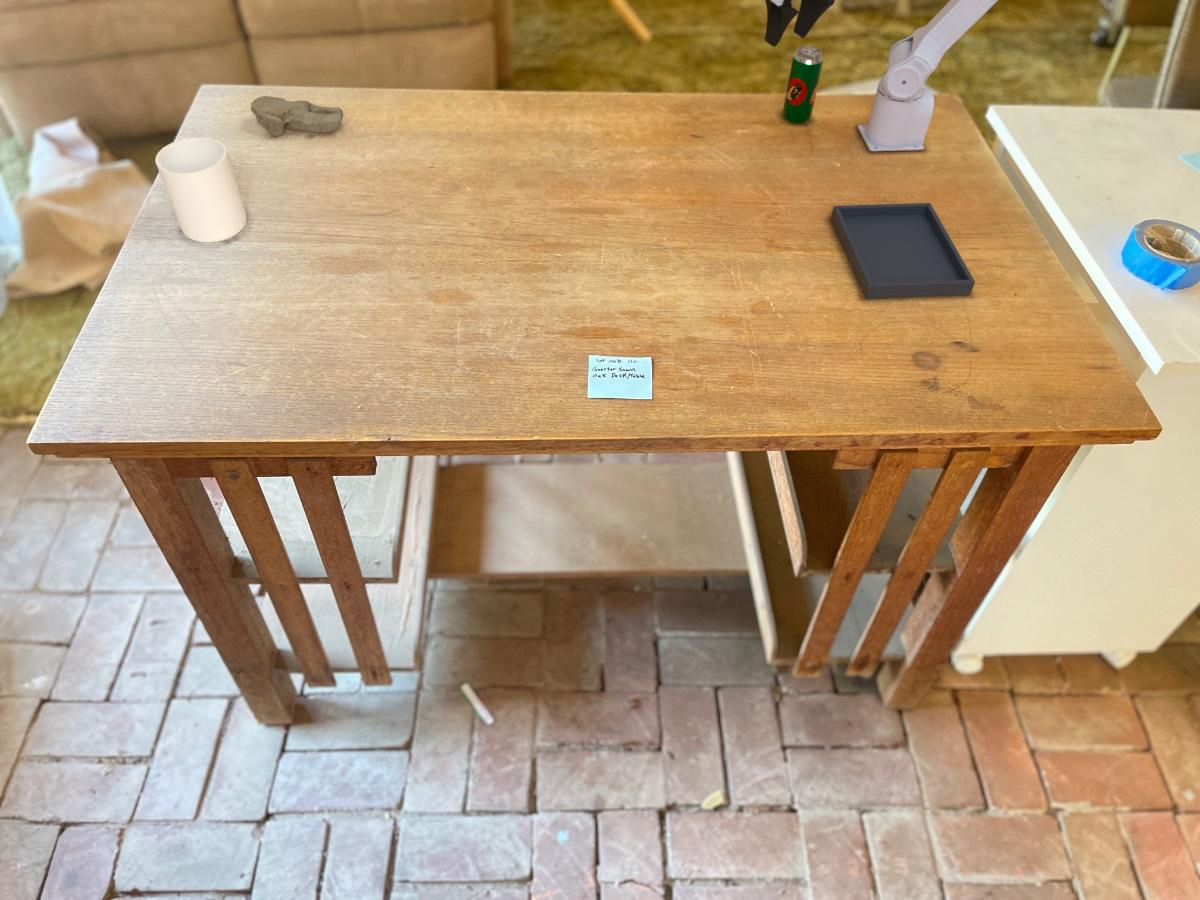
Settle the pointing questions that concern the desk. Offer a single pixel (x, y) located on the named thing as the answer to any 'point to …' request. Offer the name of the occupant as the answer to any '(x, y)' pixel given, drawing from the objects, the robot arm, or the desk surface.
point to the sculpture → (295, 116)
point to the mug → (202, 189)
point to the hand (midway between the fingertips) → (784, 39)
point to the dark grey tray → (900, 251)
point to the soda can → (802, 84)
